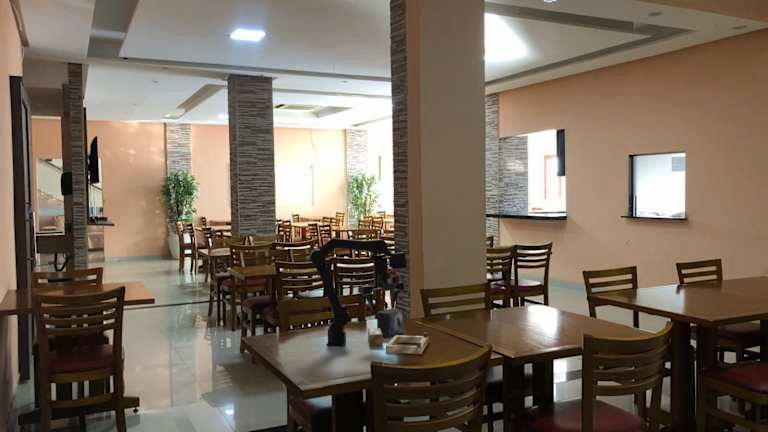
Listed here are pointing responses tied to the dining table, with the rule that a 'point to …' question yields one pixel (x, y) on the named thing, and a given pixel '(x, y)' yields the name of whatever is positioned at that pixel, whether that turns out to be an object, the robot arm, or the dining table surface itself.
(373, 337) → the frame
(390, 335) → the small box
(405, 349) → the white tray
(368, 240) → the robot arm
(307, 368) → the dining table surface
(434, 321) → the dining table surface
